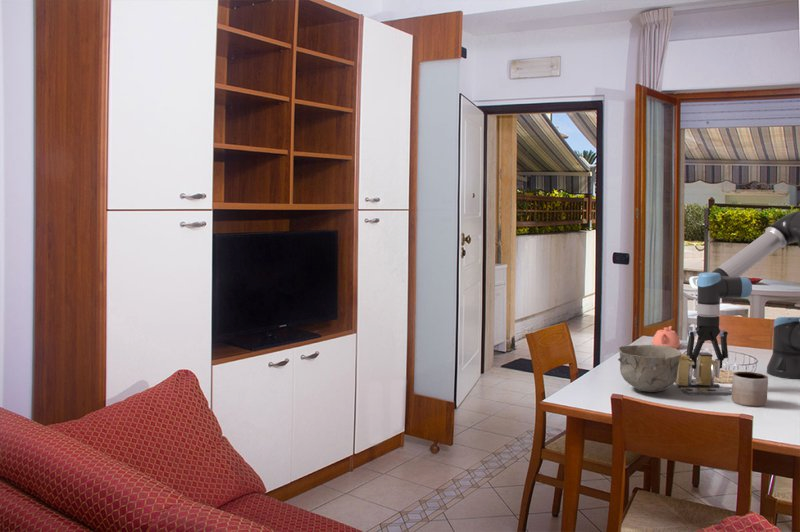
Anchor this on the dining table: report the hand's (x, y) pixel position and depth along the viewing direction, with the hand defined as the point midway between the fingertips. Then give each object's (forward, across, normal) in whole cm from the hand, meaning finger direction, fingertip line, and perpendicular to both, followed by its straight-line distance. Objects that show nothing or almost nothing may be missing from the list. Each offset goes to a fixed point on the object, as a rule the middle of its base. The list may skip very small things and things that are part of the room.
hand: (706, 377), depth 263 cm
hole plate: (+4, +3, +8) cm, 9 cm away
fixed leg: (+2, +9, +3) cm, 10 cm away
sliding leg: (+2, +1, +3) cm, 4 cm away
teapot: (+5, -11, -74) cm, 75 cm away
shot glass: (+4, +5, -9) cm, 11 cm away
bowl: (+4, +23, +6) cm, 24 cm away
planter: (+4, -6, +20) cm, 21 cm away
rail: (+4, +3, 0) cm, 5 cm away
